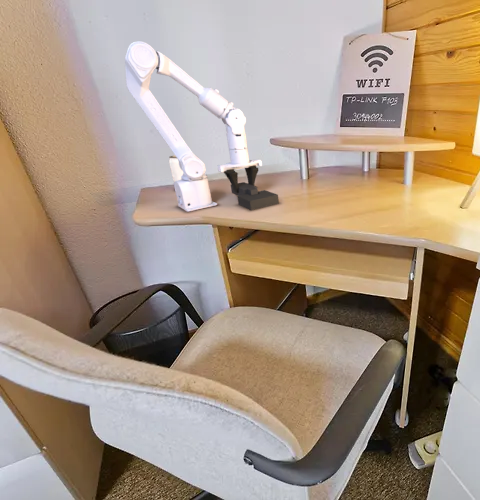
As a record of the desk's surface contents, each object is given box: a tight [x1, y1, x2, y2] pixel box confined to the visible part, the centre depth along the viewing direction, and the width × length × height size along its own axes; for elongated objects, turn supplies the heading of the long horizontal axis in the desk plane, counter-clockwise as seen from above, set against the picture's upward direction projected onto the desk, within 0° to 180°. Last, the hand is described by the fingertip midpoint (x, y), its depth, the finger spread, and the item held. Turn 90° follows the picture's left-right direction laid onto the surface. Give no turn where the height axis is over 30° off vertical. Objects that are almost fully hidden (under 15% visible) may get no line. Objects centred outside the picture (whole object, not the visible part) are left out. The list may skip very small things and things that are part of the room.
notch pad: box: [236, 189, 280, 211], centre depth 102 cm, size 10×8×3 cm
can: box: [168, 155, 183, 183], centre depth 117 cm, size 6×6×12 cm
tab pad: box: [230, 181, 259, 196], centre depth 106 cm, size 5×11×3 cm, turn 45°
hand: (244, 190), depth 107 cm, fingers closed on tab pad, 5 cm apart
